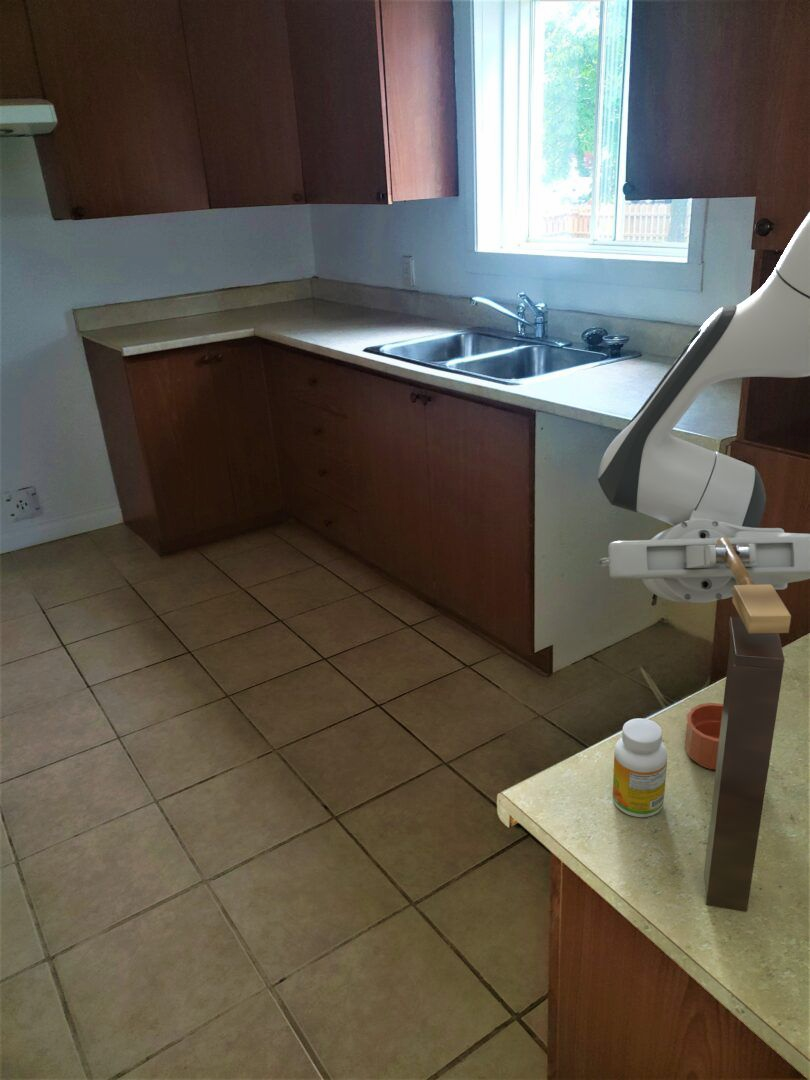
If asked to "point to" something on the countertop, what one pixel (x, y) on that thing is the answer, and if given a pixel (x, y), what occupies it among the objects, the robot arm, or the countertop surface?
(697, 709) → the bowl
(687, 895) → the countertop surface
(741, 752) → the tall brown pillar
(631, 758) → the supplement bottle
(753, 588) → the tan wooden mallet
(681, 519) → the robot arm
